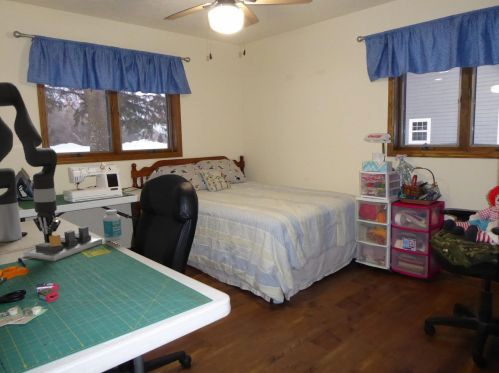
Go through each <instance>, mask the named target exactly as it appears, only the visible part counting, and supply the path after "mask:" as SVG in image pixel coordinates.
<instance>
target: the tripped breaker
mask: <svg viewBox="0 0 499 373" xmlns="http://www.w3.org/2000/svg"><path fill="white" fill-rule="evenodd" d="M61 238H62V237H61V234H59V233H58V234H57V233H55V234H52V235H51V236H49V240H50V246H54V247H55V246H58V245H61Z"/></svg>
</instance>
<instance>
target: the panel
mask: <svg viewBox="0 0 499 373" xmlns="http://www.w3.org/2000/svg"><path fill="white" fill-rule="evenodd" d="M63 235H64V237H60V238H61V245H58V246H55V247H54V246H50V243H45V242H42V243H39V244H36V245H35V247H32V248H30V249H27V250H23V257H24V258H31V259H38V260H44V261H50V262H56V261H59V260H61V259H64V258H66V257H70V256H73V255H74V254H75V255H76V254H78V253H81V252H83V251H85V250H88V249H90V248H94V247H96V246H99V245H101V243H102V244H103V243H104V242H103V238H98V237H93V236H92V235H91V234H89V226H81V227H78V233H76V231H75V230H67V231H64V234H63Z"/></svg>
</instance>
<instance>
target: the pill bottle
mask: <svg viewBox="0 0 499 373" xmlns="http://www.w3.org/2000/svg"><path fill="white" fill-rule="evenodd" d="M121 219H122V218H121V216H120V214H118V210H117V209H107V210H105V215H104V216H103V218H102V223H103V224H102V225H103V235H104V236H103V237H104V240H105V241H106V242H116V241H117V242H118V241H120V240H121V239H122V237H123V235H122V234H123V231H122V220H121Z"/></svg>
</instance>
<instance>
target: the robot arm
mask: <svg viewBox="0 0 499 373" xmlns="http://www.w3.org/2000/svg"><path fill="white" fill-rule="evenodd" d="M0 107H14V109H15V112H16V114H15V118H14V123H13V129H14V133H15V135H16V137H17V138H18V140H19V141H20V143H21V144H22V148H23V154H24V159H25V161H26V163H27V164H28V165H29V166H30V167H31V168H32V167H33V168H41V167H42V168H41V169H42V170H41V171H39V172H37V173H34V174H33V175H32V183H33V206H34V212H35V213H36V216H37V217H35V218H33V219H32V220H33V222H34V224H35V226H36V227H37V229H38V231H39V232H42V234H43V240H44V243H50V240H49V236H51V235H53V233H55V232H57V230H58V229H59V227H60V224H61V222H62V221H61V220H60V219H59V220H58V218H57V215H56V211H57V210H58V207H57V194H56V189H55V172H56V168H57V164H58V154H57V152H56V151H55V149H53V148H51V147H40V148H39V146H41V145H42V143H43V139H42V136H41V134H40V133H39V132H38V130H37V128H36V126H35V125H34V123H33V121H32V119H31V116H30V114H29V111H28V109H27V106H26V103H25V101H24V98H23V97H22V94H21V92H20V90H19V88H18V86H17V85H16V84H15V83H13V82H9V81H1V82H0ZM14 133H13V131H12V129H11V128H10V126H9V125H8V124H7V123H6V122H5V121H4V120H3V118H2V116H0V163H1V162H2V161H4V159H5V158H6V157H7V156H8V155H9V154H10V152H11V151H12V149H13V147H14ZM37 147H38V148H37ZM1 189H6V191H5V192H4V193H2V194H0V242H1V243H5V242H13V241H18V240H21V239H22V238H23V234H22V233H23V232H22V227H21V225H22V224H21V216H20V210H19V209H20V208H19V201H18V193H17V192H18V191H17V176H16V171H15V170H14V169H13V168H11V167H5V168H3V167H2V168H0V190H1Z"/></svg>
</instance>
